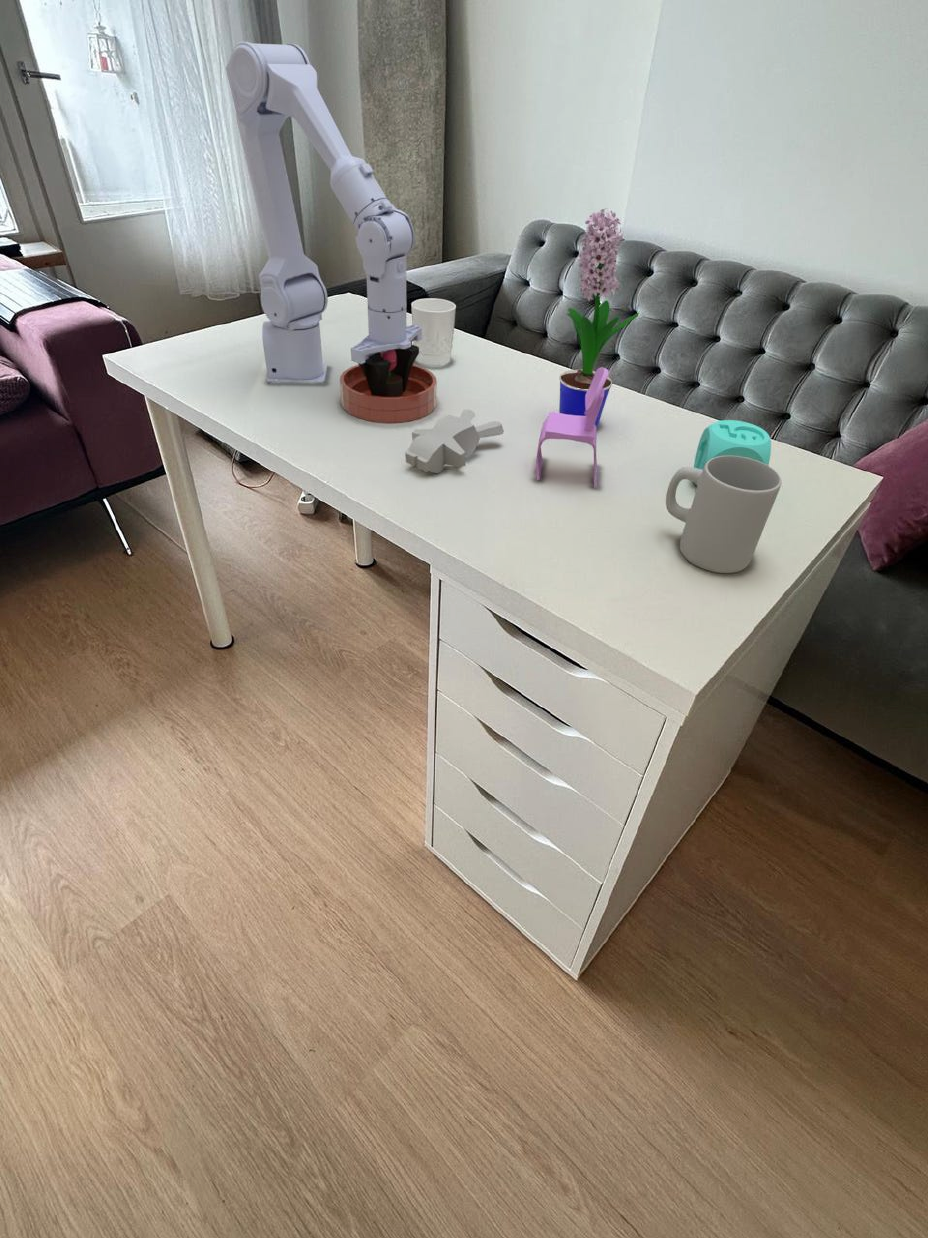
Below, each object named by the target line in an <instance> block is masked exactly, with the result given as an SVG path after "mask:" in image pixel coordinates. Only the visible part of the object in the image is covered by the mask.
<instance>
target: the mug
mask: <svg viewBox="0 0 928 1238" xmlns="http://www.w3.org/2000/svg"><path fill="white" fill-rule="evenodd" d="M780 475H781V474H779V472H778V471H777V470H776V469H774V468H773V467H771V466H769V465H766V464H764V463H762V462H759V461H757V460H754V459H750V458H746V457H740V456H719V457H715V458H712V459H710V460H709V461H708V462H707V463H706V464H705V466H704V469H703V470H702V469H698V468H694V466H684V467H681V468H679V469H677V471H675V473H674V474H673V476H672V477H671V479H670V481H669V483H668V485H667V490H666V495H665V507H666V511H667V512H668V513H669V514H670V516H672V517H673V518H676V519H677V520H679V521H681V522H683V523H685V524H684V528H683V530H682V533H681V537H680V541H679V550H680V552H681V554H682V556H683V557H684V558H685V559H686V560H687V561H688V562H689V563H691V564H692V565H694V566H696V567H698V568H700V569H703V570H705V571H709V572H713V573H719V574H734V573H739V572H741V571H743V570H744V569H746V568H748V566H749V565H750V563H751V562H752V559H753V557H754V554H755V551H756V549H757V547H758V544H759V541H760V538H761V536H762V534H763V530H764V528H765V526H766V524H767V522H768V519H769V516H770V514H771V512H772V509H773V507H774V504H775V502H776V500H777V497H778V494H779V492H780V489H781V486H782V478H781V476H780ZM683 480H688V481H690V482H692V483H693V484H695V485H696V489H695V494H694V497H693V500H692V504H691V506H690V508H688V507H683V506H681V505H679V503H678V502H677V498H676V496H677V495H676V494H677V489H678V486H679V485H680V482H682V481H683Z"/></svg>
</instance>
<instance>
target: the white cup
mask: <svg viewBox="0 0 928 1238" xmlns="http://www.w3.org/2000/svg"><path fill="white" fill-rule="evenodd" d="M410 305H411V325H415V326H418V327H422V340H420V341H415V340H414V341H412V345H415V346H418V347H419V354H418V356H417V357H416V359H415V362H416V363H419V364H422V365H425V366H431V367H432V366H442V365H446V364H448V363H450V362H451V359H452V357H451V356H452V349H453V342H454V334H455V324H456V323H455V322H456V313H457V312H456V310H457V305H456V304H455V303H454V302H452V301H451V300H448V299H443V298H433V297H432V298H430V297H429V298H428V297H427V298H426V297H425V298H419V299H416V300H414V301H412V302H411V303H410Z"/></svg>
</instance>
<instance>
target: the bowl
mask: <svg viewBox="0 0 928 1238" xmlns="http://www.w3.org/2000/svg"><path fill="white" fill-rule="evenodd" d="M437 385H438V382H437V377H436V375H435V374H434V373H433V372H432V371H430V370H429V369H427V368H425V367H422V366H420V365H417V364H414V363H413V366H412V368H411V371H410V374H409V378H408V382H407V386H406V390H405V392H404V393H403V396H401V397H379V396H372V395H371V391H370V388H369V385H368V382H367V379H366V377H365V375H364V373H363V371H362V369H361V367H360V366H359V364H356V365H353V366H350V367H348V368H347V369H345V370H344V371H343V372H342V373H341V375H340V377H339V388H340V401H341V404H340V405H341V406H342V408H343V410H344V411H345V412H347V413H348V414H349V415H352V416H353V417H356V418H358V419H361V420H365V421H368V422H374V423H382V424H398V423H407V422H413V421H417V420H419V419H422V418H424V417H427V416H428V415H430V414H431V413H433V412H434V410H435V409H436V407H437V392H438V391H437V387H438V386H437Z"/></svg>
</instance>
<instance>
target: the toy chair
mask: <svg viewBox="0 0 928 1238" xmlns="http://www.w3.org/2000/svg"><path fill="white" fill-rule="evenodd" d="M609 375H610V371H609V369H607V368H606V367H603V366H601V367H598V368H597V369H596V371H595V375H594V378H593V381H592V383H591V385H590V387H589V389H588V391H587V393H586V395H585V407H586V411H585V412H584V414H585V415H586V416H576V415H567V414H562V413H559V412H556V411H548V414H547V415H548V416H547V418H546V419H545V420H544V421H543V424H542V426H541V430H540V434H539V438H538V439H539V440H538V445H537V450H536V463H535V464H536V465H535V466H536V468H535V469H536V481H538V482H540V480H541V475H542V467H543V461H544V460H543V454H542V453H543V452H542V445H543V443H544V442H545V441H546V440H567V441H575V442H579V443H583V444H588V445H590V446H591V447H592V449H593V488H594V489H597V488H598V483H597V482H598V460H597V429H596V426H595V422H596V419H597V416H598V413H599V410H600V407H601V404H602V401H603V398H604V389H602V388H603V385H604V383H605V381H606V379H607V377H609Z"/></svg>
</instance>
